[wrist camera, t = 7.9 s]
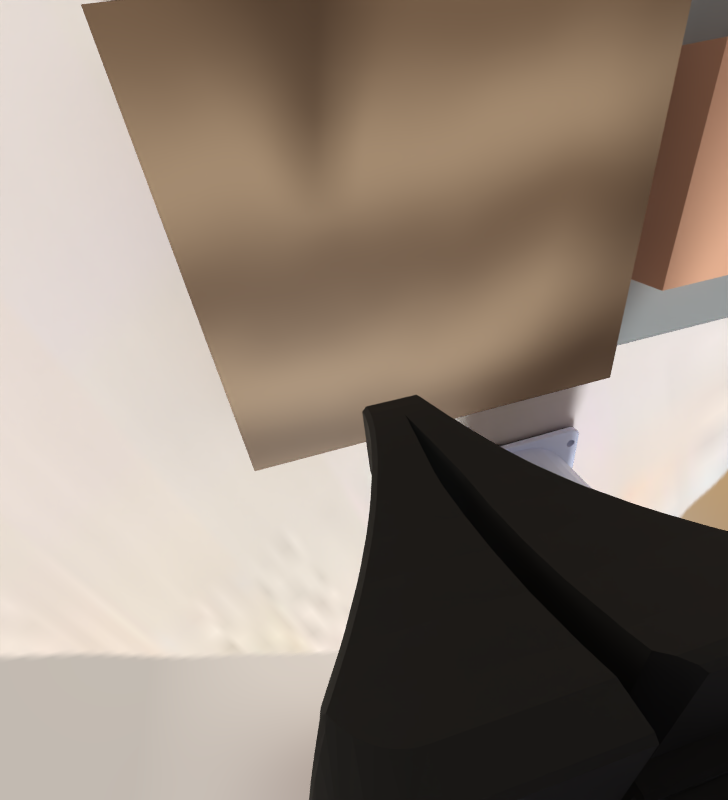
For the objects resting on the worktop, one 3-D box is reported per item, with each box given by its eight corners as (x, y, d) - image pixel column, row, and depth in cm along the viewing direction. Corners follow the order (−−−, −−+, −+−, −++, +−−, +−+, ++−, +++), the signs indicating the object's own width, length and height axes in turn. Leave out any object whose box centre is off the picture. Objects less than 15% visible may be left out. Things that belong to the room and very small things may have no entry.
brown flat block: (555, 341, 23) (609, 377, 19) (252, 416, 20) (254, 471, 17) (602, -24, 15) (706, -69, 11) (121, 37, 13) (81, 4, 9)
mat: (749, 308, 25) (755, 310, 24) (561, 356, 23) (565, 358, 23) (907, -99, 16) (918, -103, 16) (620, -67, 14) (627, -70, 14)
